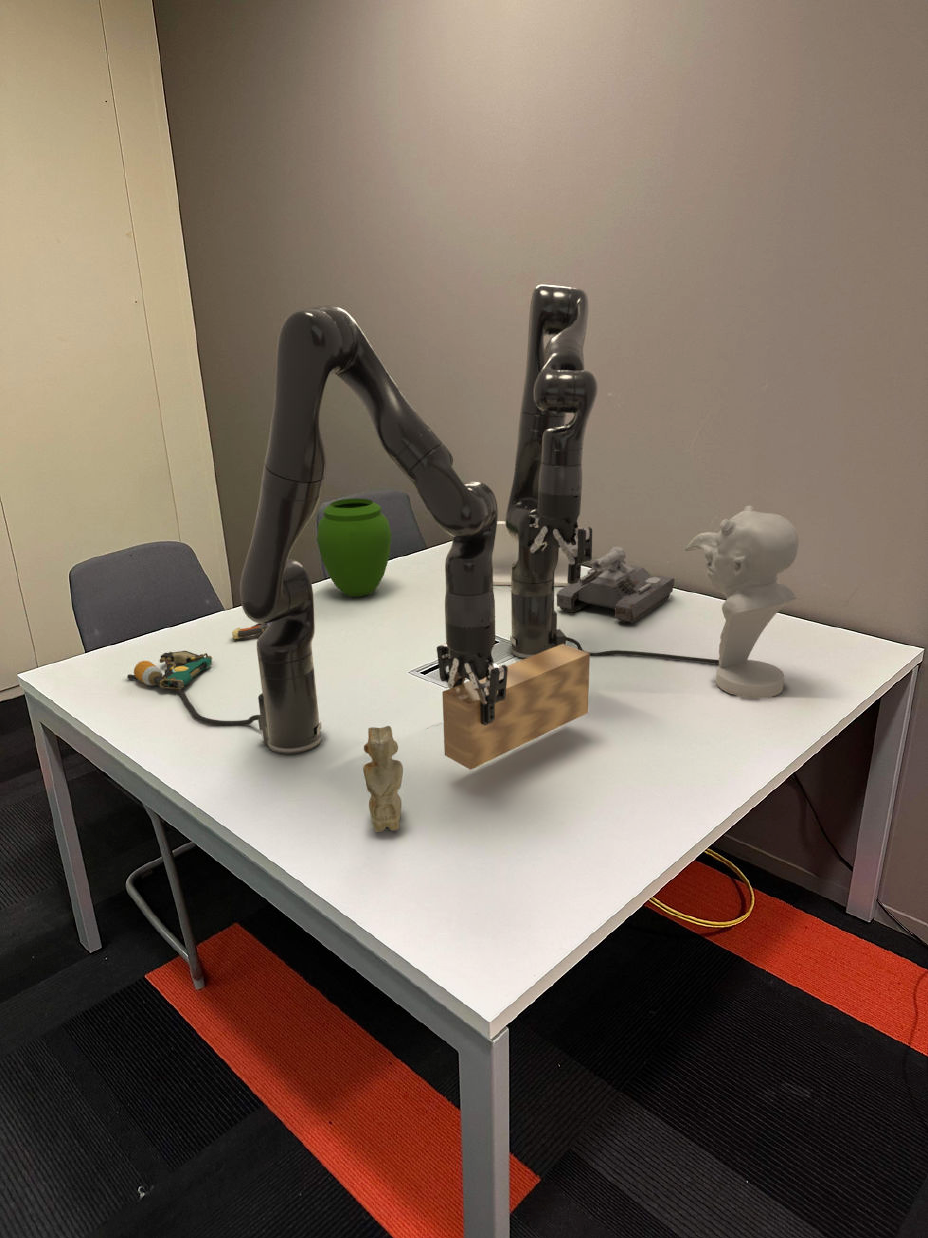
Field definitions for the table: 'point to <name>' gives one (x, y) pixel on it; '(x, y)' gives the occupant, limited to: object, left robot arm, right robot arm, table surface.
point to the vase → (354, 545)
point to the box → (517, 706)
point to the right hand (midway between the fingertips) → (554, 577)
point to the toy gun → (249, 631)
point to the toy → (616, 588)
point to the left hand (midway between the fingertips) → (472, 715)
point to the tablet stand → (508, 554)
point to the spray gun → (172, 669)
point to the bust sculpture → (748, 593)
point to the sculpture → (383, 778)
